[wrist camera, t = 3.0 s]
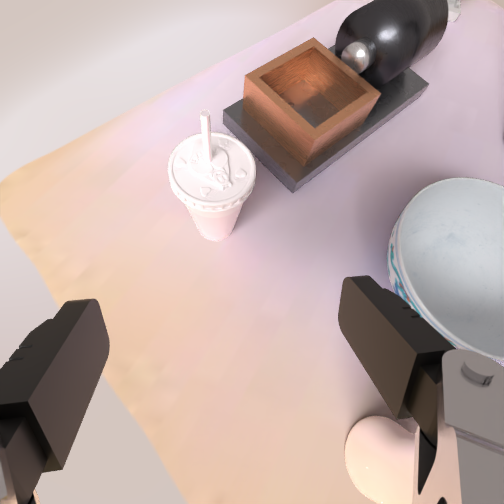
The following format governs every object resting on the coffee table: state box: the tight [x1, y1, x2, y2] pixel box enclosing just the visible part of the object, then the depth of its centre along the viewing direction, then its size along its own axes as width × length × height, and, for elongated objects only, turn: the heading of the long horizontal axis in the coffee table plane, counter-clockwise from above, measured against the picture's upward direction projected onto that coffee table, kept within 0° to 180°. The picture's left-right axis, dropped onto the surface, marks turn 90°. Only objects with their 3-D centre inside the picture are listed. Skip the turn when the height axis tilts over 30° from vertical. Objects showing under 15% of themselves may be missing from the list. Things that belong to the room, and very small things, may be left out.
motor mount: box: [223, 0, 448, 193], centre depth 32 cm, size 24×12×10 cm, turn 131°
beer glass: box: [345, 416, 415, 504], centre depth 17 cm, size 7×7×15 cm
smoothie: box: [168, 109, 256, 241], centre depth 23 cm, size 6×6×14 cm
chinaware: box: [387, 177, 504, 361], centre depth 26 cm, size 15×15×8 cm
